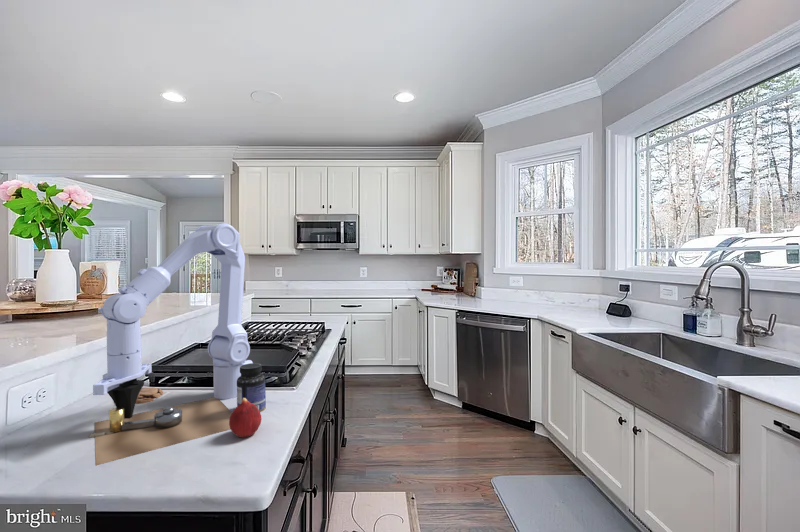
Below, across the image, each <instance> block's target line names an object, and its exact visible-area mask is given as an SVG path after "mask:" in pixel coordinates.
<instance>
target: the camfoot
mask: <svg viewBox="0 0 800 532" xmlns="http://www.w3.org/2000/svg"><path fill="white" fill-rule="evenodd" d="M162 408H163V411H160V412H158V413H156V414H155V415H154V419H146V420H139V421H131V422H124V408H123V407H118V408H116V407H114V408H111V409H109V410H108V411H109V412H108V414H109V416H108V417H109V419H108V420H109V425H110V432H117V431H121V430H126V429H134V428H141V427H149V426H155V427H157V428H166V427H171V426H174V425H177V424H179V423H181V422H182V410H181V409H174V407H171V406H165V407H162Z"/></svg>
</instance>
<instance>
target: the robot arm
mask: <svg viewBox="0 0 800 532" xmlns="http://www.w3.org/2000/svg"><path fill="white" fill-rule="evenodd" d="M203 253H208V254H209V255H212V256H213V257H215V258H216V259H217V261H218V262H220V264H221V271H220V286H219V289H220V290H219V301H218V302H219V304H218V305H219V306H218V317H217V318H218V319H217V326H216V327H214V329H213V330H212V332H211V338H210V341H209V342H208V345H207V354H208V355H209V357H210V358H212V365H213V397H215V398H217V399H219V400H231V399H237V379H238V378H239V377H240V376H241V373H240V366H242V365H245V364H250V363H254V362H253V361H252V360H251V359H248V357H249V355H250V353H251V346H250V343H249V340H248V333H247V331H246V330H245V329H244V327H243V325H242V319H243V318H242V317H243V300H244V285H245V284H244V281H245V267H246V266H245V265H246V254H245V253H244V249H243V246H242V244H241V233H240V232H239V231H238V230H237V229H236V228H235V227H234V226H233V225H231V224H229V223H223V222H222V223H220V224H214V225H213V224H212V225H211V224H210V225H206V224H205V225H200V226H199V227H198V228H196V229H195V231H192V232H191V233H189V234H188V236H187V237H186V238H185V239H184V240H183V241H182V242H181V243H180V244H179V245H178V246H177V247H176V248H175V249H174V250H173V251H172V252H170V254H169V255H168V256H167V257H166V258H165V259H164V260H163V261H162V262H161V263H159V264H158V266H148V267H146V268H140V269H139V270H138V271H137V276H136V277H134V278H133V279H132V280H131V281H130V282H129V283H128V284H127V285H126V286H121V287H120V288H118V290H119V292H120V293H116V294H112V295H110V296H108V297H107V299H105V300H104V302H103V305H102V307H101V308H100V313H101V315H102V317H104V318H105V320H106V357H107V358H106V360H107V361H106V362H107V363H106V365H107V369H106V370H107V373H104V374H102V379H101V380H100V381H99V382H97V383H95V384H93V385H92V394H93V396H105V395H109V397H110V399H112V401H113V403H114V405H115V408H118V407H123V408H124V419H129V418H131V417H132V416H133V414H134V410H135V407H136V404H135V403H136V400H137V397H138V395H139V392H140V390H141V389H143V387H144V385H145V380H143V379H139V378H141V377H142V376H144V375H148V374H152V371H153V370H152V369H153V368H152V365H153V364H152V363H144V364H143V363H142V337H141V336H142V334H141V332H142V329H141V319H142V318H144V316H145V314H146V312H147V306H149V305H150V304H151V303H152V302H154V301H155V299H156V298H158V297H159V296H160V295H161V294H162V293H163V292H164V291H166V289H168V287H170V285H171V279H172V278H171V277H172V276H173V275H174V274H175V273H177V271H180V269H181V268H183V267H184V266H185V265H186V264H187V263H188V262H190V261H191V260H192V259H193V258H194V257H196V256H197V255H198V254H203Z"/></svg>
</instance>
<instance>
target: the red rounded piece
mask: <svg viewBox="0 0 800 532" xmlns="http://www.w3.org/2000/svg"><path fill="white" fill-rule="evenodd" d="M231 412H232V414H231V416H230V420H229V426H230V429H231V430H230V431H231V432H232V433H233V434H234V435H235V436H237V437H239V438H247V437H250V436H252V435H254V434H255V433H256V432H257V431H258V430H259V428H260V426H261V423H262V414H261V412H260V411H259V410H258V408H257V407H256V406H255V405H254V404H252V403H250V402H249V401H248V400H247V399H246V398H243V399H242V402H241V404H240V405H238V406H237V405H236V407H235V408H234V409H233V411H231Z"/></svg>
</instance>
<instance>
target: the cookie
mask: <svg viewBox="0 0 800 532" xmlns="http://www.w3.org/2000/svg"><path fill="white" fill-rule="evenodd" d="M162 395H164V391H163V389H161V388H157V387H145V388H142V389H141V390H140V392H139V395H138V397H137V400H136V403H135V405H137V404H147V403H150V402H154V400H155V399H157V398H160V397H161V396H162Z"/></svg>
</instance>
